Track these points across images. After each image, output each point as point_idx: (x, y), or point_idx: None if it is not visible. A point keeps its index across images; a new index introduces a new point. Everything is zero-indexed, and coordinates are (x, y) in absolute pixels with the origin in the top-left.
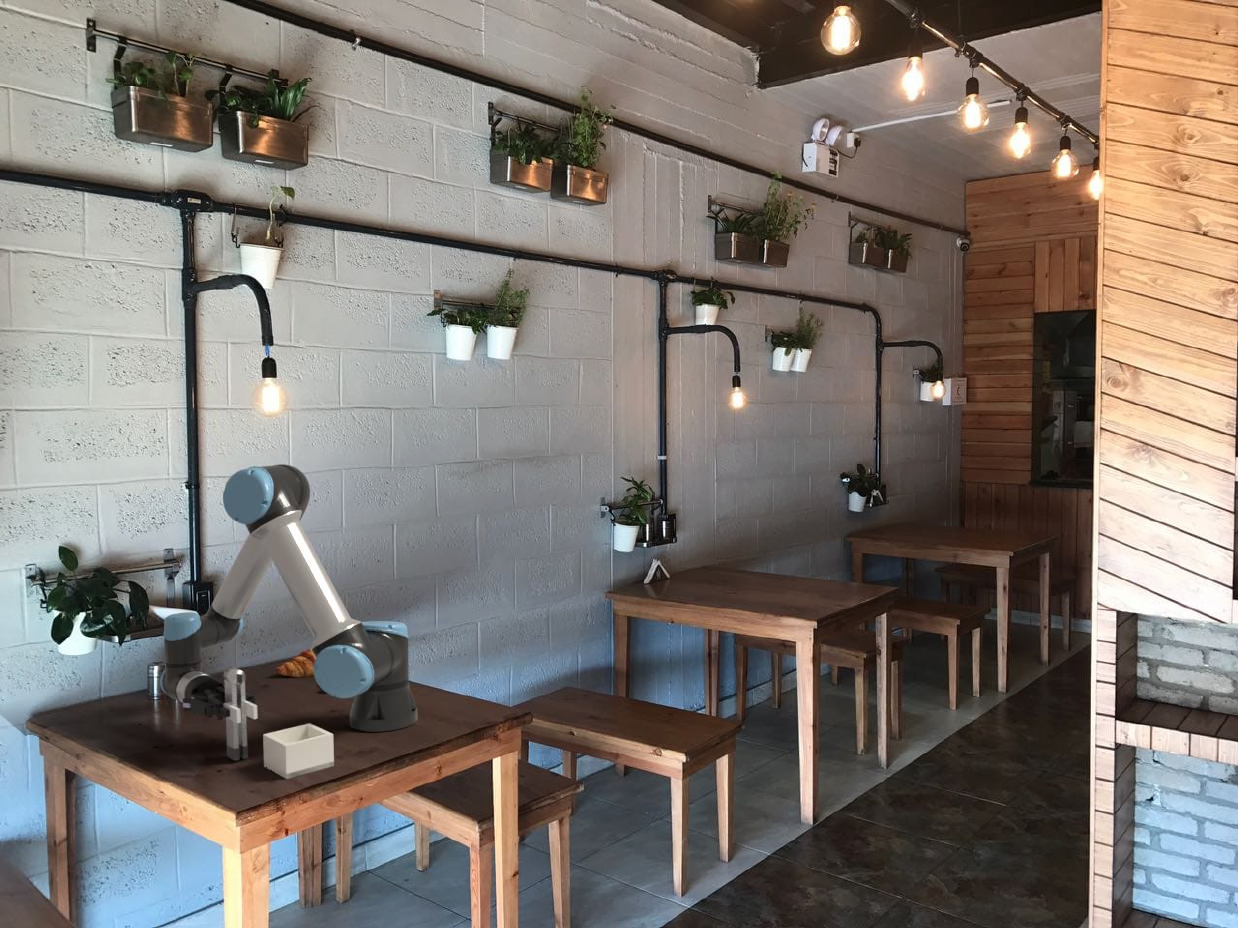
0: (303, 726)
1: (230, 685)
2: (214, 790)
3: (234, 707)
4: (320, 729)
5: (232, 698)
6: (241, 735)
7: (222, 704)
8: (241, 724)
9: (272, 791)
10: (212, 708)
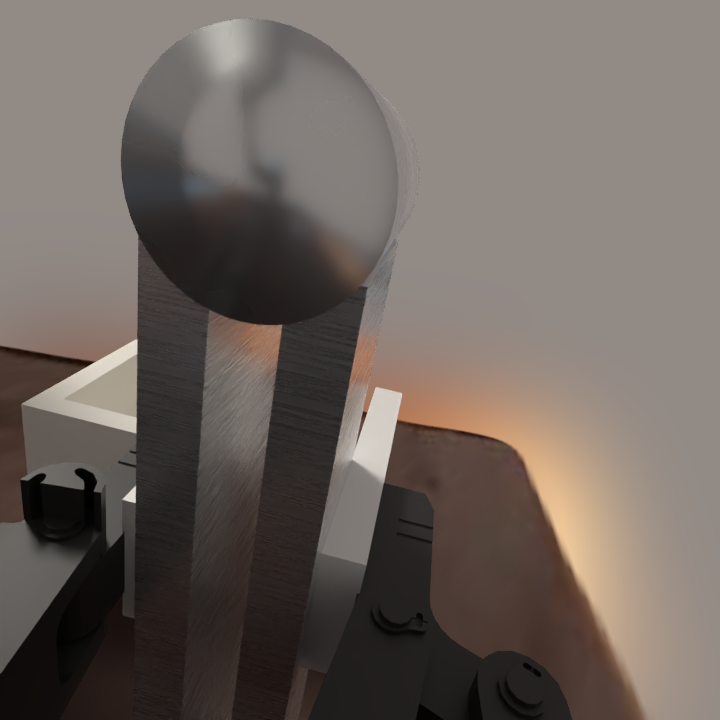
0: (84, 404)
1: (385, 287)
2: (525, 572)
3: (379, 424)
4: (117, 356)
5: (364, 400)
6: (233, 674)
7: (363, 596)
8: (246, 600)
9: (395, 449)
10: (482, 661)
